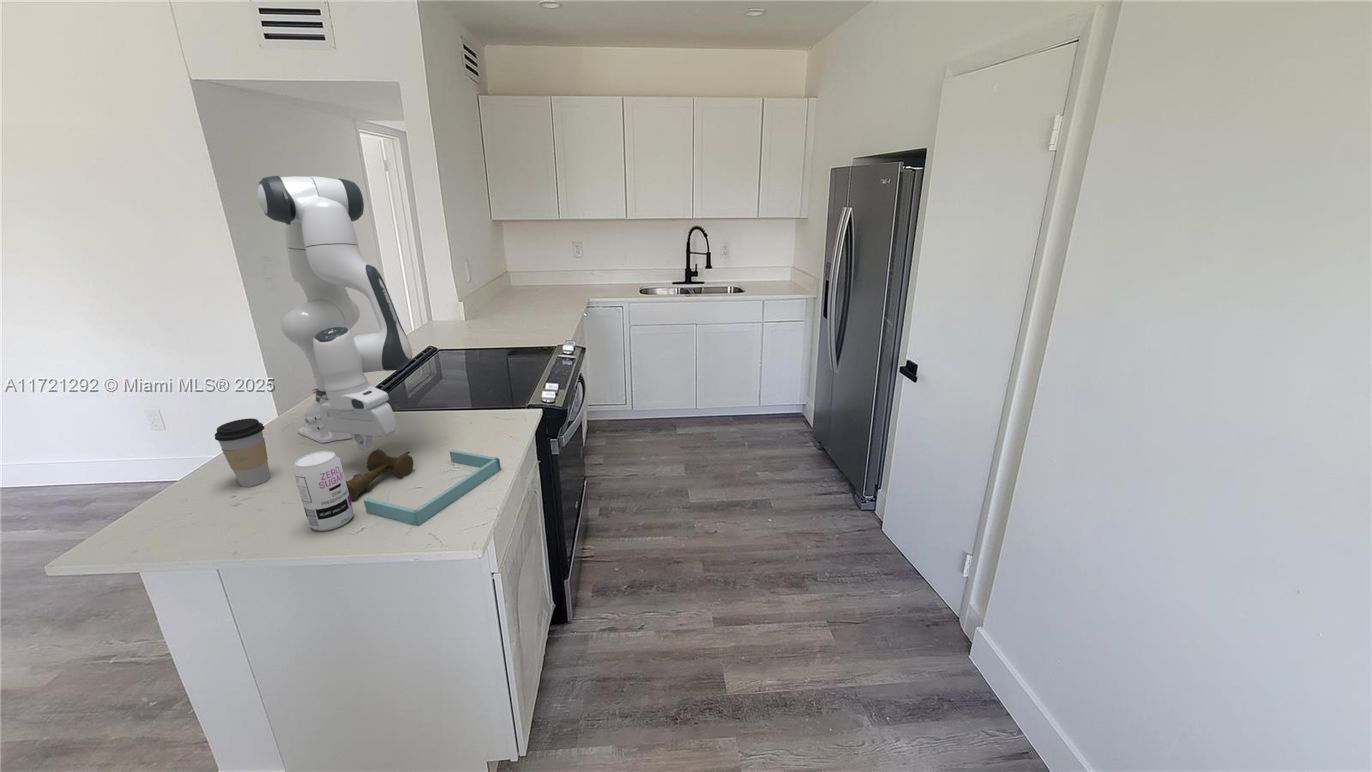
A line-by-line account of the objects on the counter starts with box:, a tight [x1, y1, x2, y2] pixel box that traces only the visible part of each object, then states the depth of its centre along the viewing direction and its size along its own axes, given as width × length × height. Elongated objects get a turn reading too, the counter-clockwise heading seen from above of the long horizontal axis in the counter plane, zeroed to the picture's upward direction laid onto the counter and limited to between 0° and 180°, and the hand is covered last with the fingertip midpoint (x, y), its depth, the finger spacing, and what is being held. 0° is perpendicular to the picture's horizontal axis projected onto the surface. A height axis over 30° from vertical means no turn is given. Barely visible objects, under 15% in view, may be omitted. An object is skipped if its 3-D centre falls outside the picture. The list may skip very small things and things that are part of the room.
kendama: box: [346, 448, 415, 502], centre depth 134 cm, size 6×10×20 cm
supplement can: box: [293, 450, 355, 532], centre depth 115 cm, size 8×8×15 cm
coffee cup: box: [214, 418, 271, 488], centre depth 133 cm, size 9×9×15 cm
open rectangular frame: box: [363, 449, 502, 526], centre depth 129 cm, size 15×26×3 cm, turn 158°
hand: (365, 448), depth 136 cm, fingers closed
